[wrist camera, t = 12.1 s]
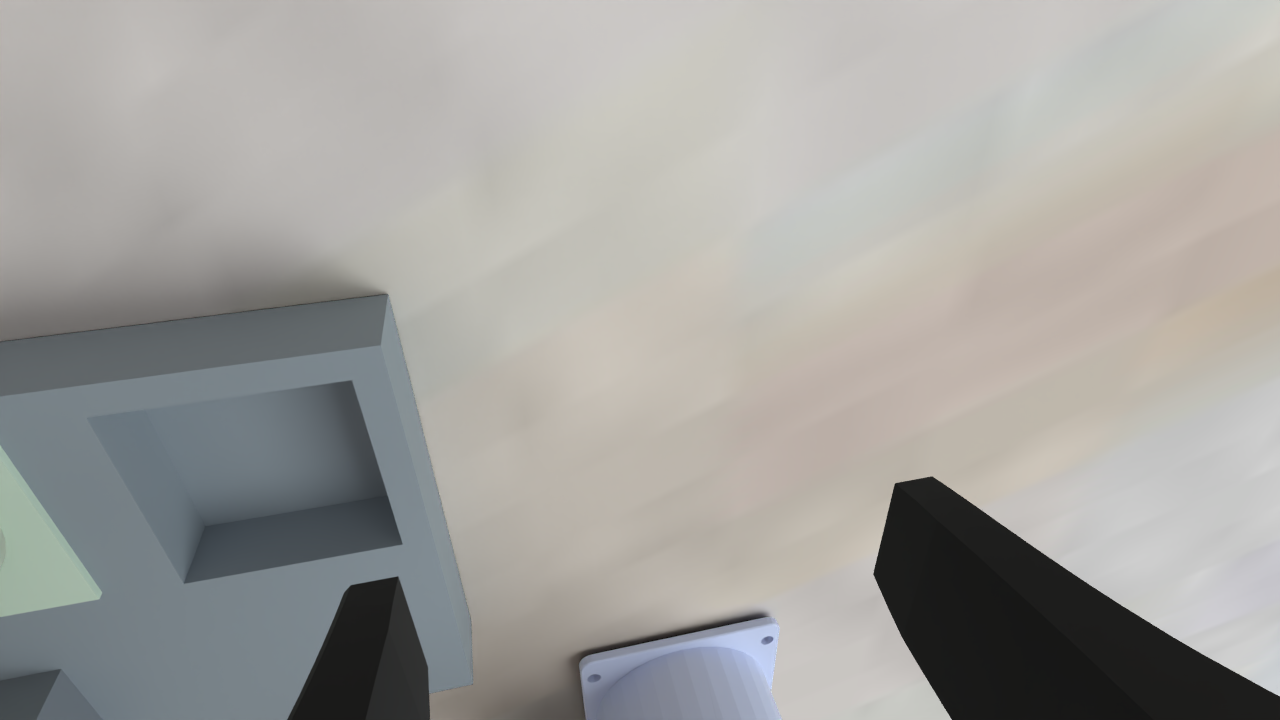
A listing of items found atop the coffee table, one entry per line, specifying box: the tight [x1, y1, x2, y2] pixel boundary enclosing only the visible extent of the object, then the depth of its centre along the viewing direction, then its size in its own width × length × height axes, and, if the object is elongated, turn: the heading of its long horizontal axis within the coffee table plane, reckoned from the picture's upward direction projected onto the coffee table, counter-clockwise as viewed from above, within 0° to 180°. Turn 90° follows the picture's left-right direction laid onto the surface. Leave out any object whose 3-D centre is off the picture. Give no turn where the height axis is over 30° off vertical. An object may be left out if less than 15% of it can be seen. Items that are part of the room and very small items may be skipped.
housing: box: [0, 294, 473, 720], centre depth 19 cm, size 13×14×4 cm
